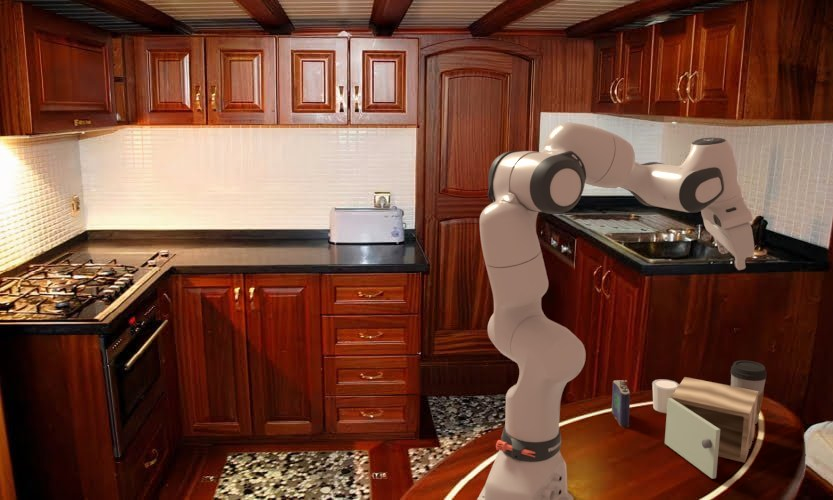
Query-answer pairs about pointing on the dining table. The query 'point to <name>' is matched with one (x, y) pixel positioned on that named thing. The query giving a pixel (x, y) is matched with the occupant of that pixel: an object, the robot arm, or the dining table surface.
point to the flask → (621, 402)
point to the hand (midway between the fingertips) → (732, 260)
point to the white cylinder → (662, 393)
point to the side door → (692, 437)
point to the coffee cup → (749, 378)
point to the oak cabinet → (723, 413)
